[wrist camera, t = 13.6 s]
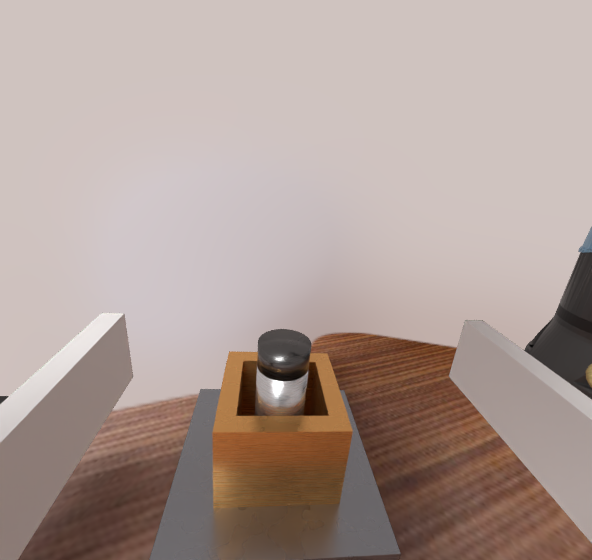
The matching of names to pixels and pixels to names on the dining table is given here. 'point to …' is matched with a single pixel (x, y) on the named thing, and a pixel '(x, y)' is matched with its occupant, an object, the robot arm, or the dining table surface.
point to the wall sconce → (589, 375)
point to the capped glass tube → (282, 373)
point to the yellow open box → (274, 478)
